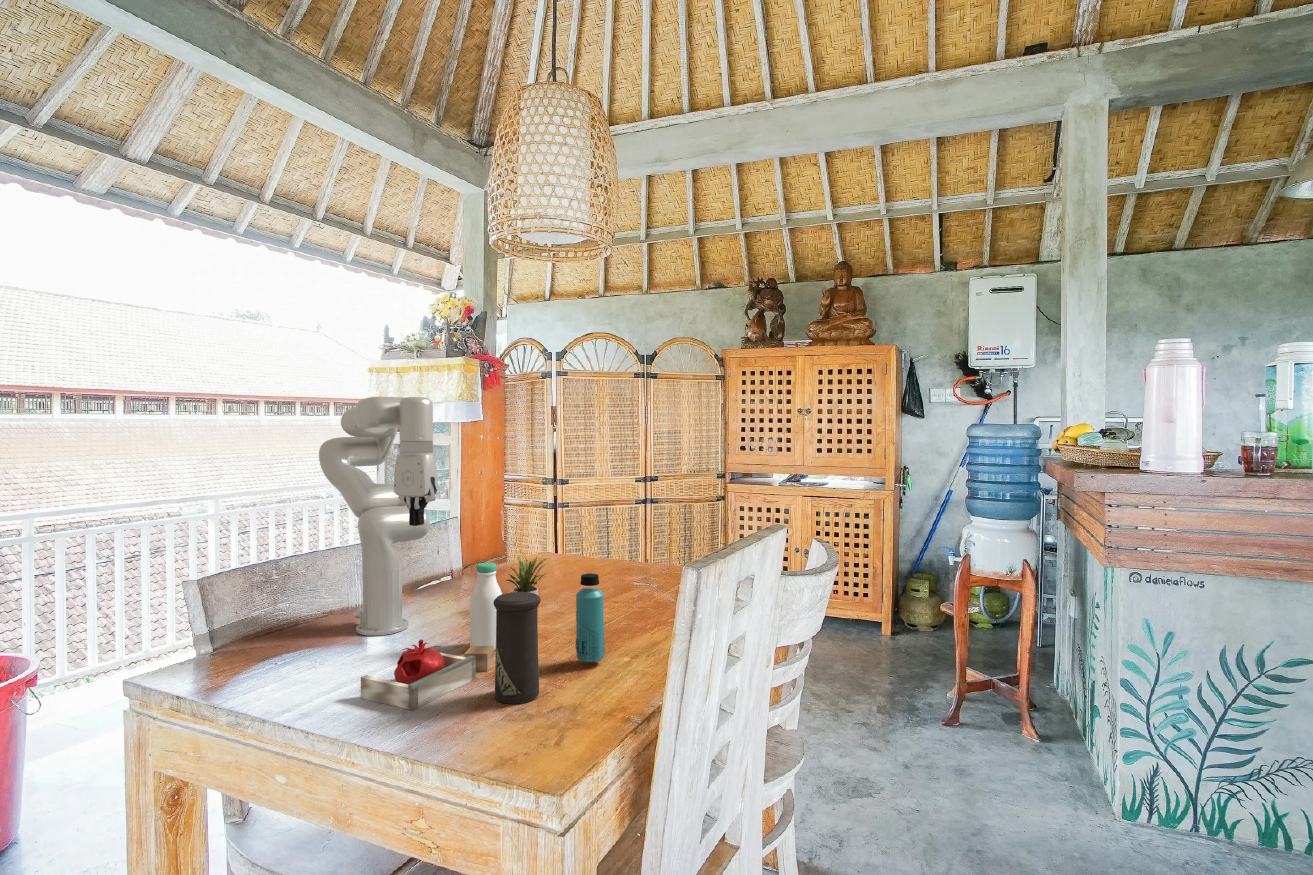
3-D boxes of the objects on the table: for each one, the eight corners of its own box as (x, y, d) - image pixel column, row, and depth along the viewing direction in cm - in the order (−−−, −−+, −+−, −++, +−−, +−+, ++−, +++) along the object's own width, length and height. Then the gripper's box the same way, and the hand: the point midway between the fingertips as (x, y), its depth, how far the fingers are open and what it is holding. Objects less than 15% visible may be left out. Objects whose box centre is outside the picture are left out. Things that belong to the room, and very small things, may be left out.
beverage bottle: (609, 660, 147) (609, 572, 147) (597, 670, 141) (597, 578, 141) (583, 657, 149) (583, 569, 149) (570, 667, 143) (570, 576, 143)
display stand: (360, 697, 127) (360, 674, 127) (426, 668, 142) (426, 647, 142) (413, 710, 121) (413, 685, 121) (475, 678, 137) (475, 656, 137)
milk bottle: (494, 653, 152) (494, 568, 151) (463, 651, 153) (463, 566, 153) (508, 643, 159) (508, 561, 159) (479, 641, 161) (479, 560, 160)
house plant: (565, 609, 189) (565, 552, 189) (532, 620, 177) (531, 561, 177) (529, 601, 197) (528, 547, 196) (494, 612, 185) (494, 555, 185)
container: (497, 687, 132) (497, 589, 131) (542, 686, 132) (542, 588, 132) (490, 705, 123) (489, 600, 123) (538, 704, 124) (538, 599, 124)
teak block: (464, 672, 141) (464, 653, 141) (471, 663, 146) (471, 645, 146) (487, 672, 141) (487, 653, 141) (493, 663, 146) (493, 645, 146)
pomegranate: (429, 672, 140) (430, 629, 141) (454, 684, 134) (454, 638, 134) (384, 685, 133) (385, 639, 133) (408, 698, 126) (408, 649, 127)
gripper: (381, 448, 156) (381, 525, 157) (428, 449, 150) (428, 529, 150) (405, 447, 163) (405, 521, 163) (451, 448, 157) (451, 524, 157)
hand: (416, 524), depth 157 cm, fingers closed
